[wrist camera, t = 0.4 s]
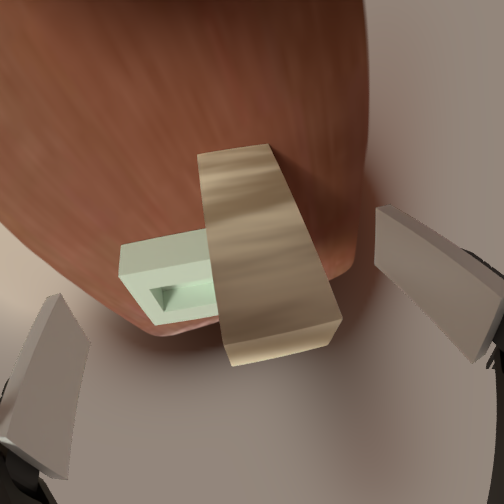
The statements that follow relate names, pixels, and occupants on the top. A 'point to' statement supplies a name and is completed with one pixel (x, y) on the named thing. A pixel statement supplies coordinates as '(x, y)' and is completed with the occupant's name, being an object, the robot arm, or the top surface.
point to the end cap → (170, 277)
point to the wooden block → (262, 259)
